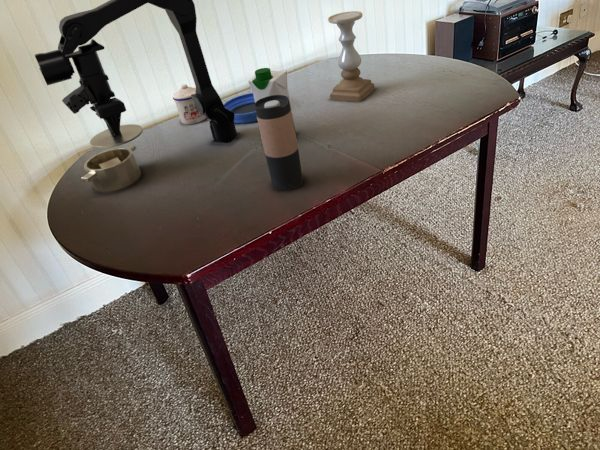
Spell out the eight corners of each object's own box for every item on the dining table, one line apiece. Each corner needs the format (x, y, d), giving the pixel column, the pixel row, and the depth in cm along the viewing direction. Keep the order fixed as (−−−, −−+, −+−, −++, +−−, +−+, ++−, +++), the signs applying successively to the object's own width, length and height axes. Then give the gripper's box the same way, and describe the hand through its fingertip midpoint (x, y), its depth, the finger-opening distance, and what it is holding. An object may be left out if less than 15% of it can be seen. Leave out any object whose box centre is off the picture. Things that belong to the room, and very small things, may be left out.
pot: (156, 166, 129) (148, 144, 125) (112, 201, 116) (101, 177, 112) (123, 163, 134) (114, 142, 130) (77, 196, 121) (65, 173, 117)
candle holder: (375, 88, 150) (370, 9, 137) (360, 102, 143) (353, 20, 130) (345, 87, 156) (337, 11, 142) (329, 99, 149) (319, 21, 135)
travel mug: (271, 177, 113) (253, 98, 101) (302, 172, 113) (288, 92, 101) (272, 193, 107) (253, 111, 95) (305, 187, 106) (290, 104, 95)
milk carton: (259, 145, 129) (243, 73, 118) (274, 131, 136) (259, 62, 124) (287, 146, 126) (273, 73, 114) (301, 132, 132) (289, 61, 121)
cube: (124, 173, 127) (117, 157, 125) (129, 179, 124) (122, 163, 121) (106, 180, 126) (98, 164, 123) (111, 187, 122) (103, 170, 119)
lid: (154, 129, 122) (146, 106, 119) (119, 152, 113) (109, 128, 109) (116, 127, 128) (108, 105, 125) (80, 149, 118) (70, 126, 115)
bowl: (214, 124, 148) (211, 113, 146) (240, 102, 161) (238, 92, 159) (264, 125, 141) (262, 114, 139) (287, 101, 154) (285, 91, 152)
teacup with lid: (185, 127, 149) (174, 92, 143) (177, 120, 156) (166, 86, 150) (219, 115, 153) (210, 81, 147) (210, 109, 160) (201, 75, 154)
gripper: (50, 76, 114) (77, 134, 123) (63, 91, 101) (92, 155, 110) (95, 63, 119) (118, 120, 128) (114, 76, 105) (137, 139, 114)
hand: (115, 133), depth 120 cm, fingers closed on lid, 3 cm apart
